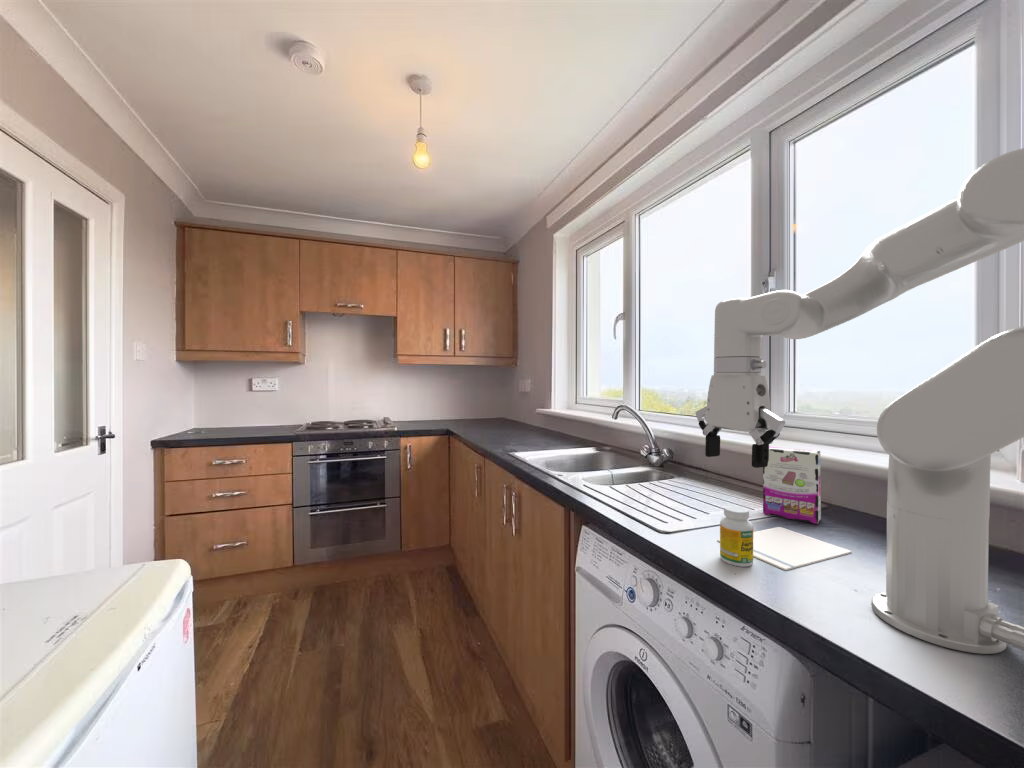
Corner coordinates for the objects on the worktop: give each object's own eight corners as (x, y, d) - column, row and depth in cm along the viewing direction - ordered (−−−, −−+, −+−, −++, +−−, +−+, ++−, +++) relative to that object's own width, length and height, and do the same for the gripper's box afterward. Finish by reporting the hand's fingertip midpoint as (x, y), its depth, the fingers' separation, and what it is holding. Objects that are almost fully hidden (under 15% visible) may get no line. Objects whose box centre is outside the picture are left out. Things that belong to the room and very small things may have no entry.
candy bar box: (821, 519, 96) (821, 450, 96) (818, 525, 93) (819, 453, 92) (766, 509, 104) (766, 445, 104) (762, 514, 100) (762, 447, 100)
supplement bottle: (729, 552, 78) (729, 502, 78) (759, 562, 74) (759, 510, 74) (713, 559, 75) (714, 507, 75) (743, 570, 71) (744, 515, 71)
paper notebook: (851, 552, 78) (851, 550, 78) (785, 570, 71) (785, 568, 71) (779, 528, 91) (779, 526, 91) (717, 541, 84) (717, 539, 84)
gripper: (799, 367, 68) (796, 470, 68) (712, 368, 84) (710, 451, 84) (768, 366, 65) (765, 473, 65) (684, 368, 81) (682, 454, 81)
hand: (734, 461), depth 74 cm, fingers open, 9 cm apart
